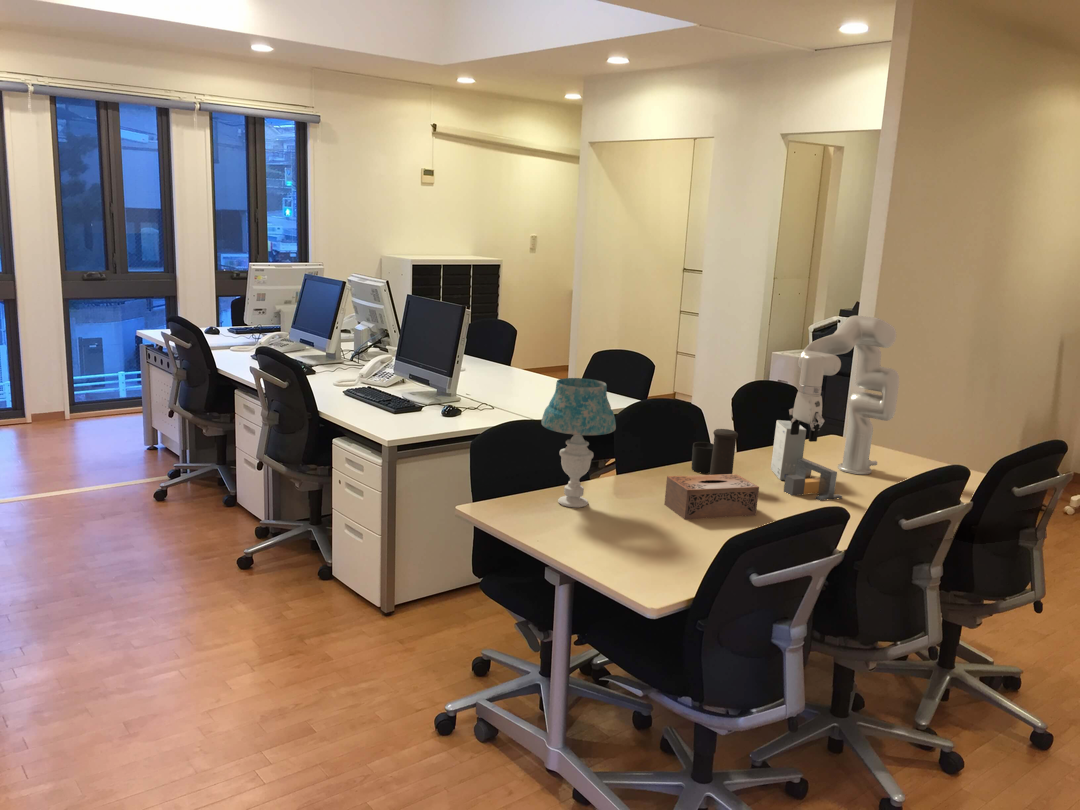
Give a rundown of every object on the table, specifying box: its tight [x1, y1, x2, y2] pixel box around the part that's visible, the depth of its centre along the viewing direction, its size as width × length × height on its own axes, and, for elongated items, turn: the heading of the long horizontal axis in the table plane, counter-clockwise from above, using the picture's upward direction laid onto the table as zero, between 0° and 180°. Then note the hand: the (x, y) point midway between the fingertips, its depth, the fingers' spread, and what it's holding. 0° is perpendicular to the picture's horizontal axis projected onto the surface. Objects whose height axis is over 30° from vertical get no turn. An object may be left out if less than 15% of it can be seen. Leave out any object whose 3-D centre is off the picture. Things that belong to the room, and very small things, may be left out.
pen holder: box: [691, 441, 714, 474], centre depth 325 cm, size 9×9×10 cm
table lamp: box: [541, 377, 617, 509], centre depth 274 cm, size 24×24×40 cm
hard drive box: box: [770, 419, 807, 481], centre depth 325 cm, size 16×8×20 cm, turn 179°
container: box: [709, 428, 739, 475], centre depth 309 cm, size 9×9×20 cm
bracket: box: [796, 457, 843, 501], centre depth 307 cm, size 10×18×10 cm, turn 22°
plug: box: [783, 475, 820, 496], centre depth 306 cm, size 16×5×6 cm, turn 113°
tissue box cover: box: [664, 473, 760, 520], centre depth 279 cm, size 26×14×10 cm, turn 108°
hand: (803, 437), depth 300 cm, fingers open, 9 cm apart
